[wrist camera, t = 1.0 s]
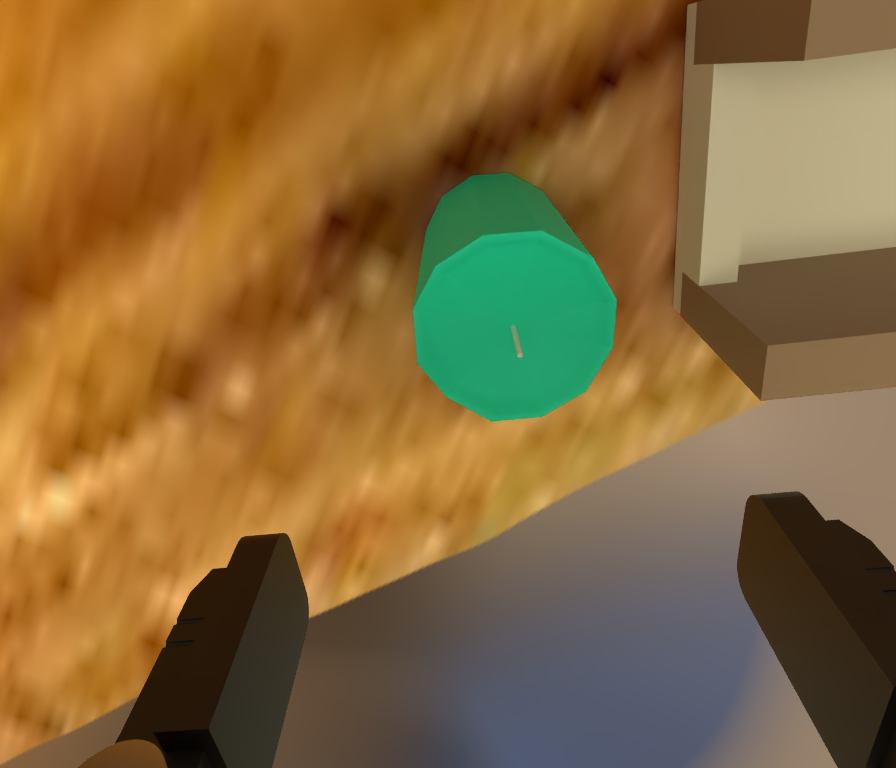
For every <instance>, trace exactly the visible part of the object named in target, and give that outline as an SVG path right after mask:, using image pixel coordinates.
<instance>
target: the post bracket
mask: <svg viewBox="0 0 896 768" xmlns="http://www.w3.org/2000/svg"><path fill="white" fill-rule="evenodd" d="M673 308H674V309H675V310H676V311H677V312H678V313H679V314H680V315H681V316H682V317H683V318H684V319H685V321H686V322H687V323H688V324H689V325H690V326H691V327H692V328H693V329H694V330H695V331H696V332H697V333H698V334H699V335H700V337H701V338H702V339H703V340H704V341H705V342H706V343H707V344H708V345H709V346H710V347H711V348H712V349H713V350H714V351H715V353H716V354H717V355H718V356H719V357H720V358H721V359H722V360H723V361H724V362H725V363H726V364H727V365H728V366H729V367H730V369H731V370H732V371H733V372H734V373H735V374H736V375H737V376H738V377H739V378H740V379H741V380H742V381H743V382H744V383H745V385H746V386H747V387H748V388H749V389H750V390H751V391H752V392H753V393H754V394H755V395H756V396H757V397H758V398H759V399H760V401H764V400H774V399H783V398H793V397H803V396H813V395H823V394H832V393H842V392H851V391H862V390H872V389H881V388H891V387H896V0H702V1H699V2H696V3H692V4H689V5H687V23H686V44H685V65H684V86H683V107H682V128H681V149H680V170H679V191H678V212H677V233H676V254H675V275H674V296H673Z"/></svg>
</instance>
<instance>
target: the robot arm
mask: <svg viewBox="0 0 896 768" xmlns="http://www.w3.org/2000/svg"><path fill="white" fill-rule="evenodd" d="M737 571H738V578H739V583H740V587H741V589H742V593H743V595H744V597H745V599H746V601H747V603H748V605H749V607H750V609H751V610H752V612H753V614H754V616H755V618H756V620H757V621H758V623H759V625H760V627H761V629H762V631H763V632H764V634H765V636H766V638H767V639H768V641H769V643H770V645H771V647H772V649H773V650H774V652H775V654H776V656H777V658H778V660H779V661H780V663H781V665H782V667H783V668H784V671H785V672H786V674H787V676H788V678H789V680H790V682H791V683H792V685H793V687H794V689H795V691H796V692H797V694H798V696H799V698H800V700H801V702H802V703H803V705H804V707H805V709H806V711H807V712H808V714H809V716H810V718H811V720H812V722H813V723H814V725H815V727H816V729H817V730H818V733H819V734H820V736H821V738H822V740H823V742H824V743H825V745H826V747H827V749H828V750H829V752H830V754H831V756H832V758H833V760H834V762H835V763H836V765H837V767H838V768H896V572H895V570H894V566H893V565H892V564H891V563H890V562H889V560H888V559H887V558H886V557H885V556H884V555H883V554H882V553H881V551H880V550H879V549H878V548H877V547H876V546H875V544H874V543H873V542H872V541H871V540H869V539H868V538H866V537H865V536H863V535H862V534H860V533H859V532H857V531H855V530H854V529H852V528H851V527H849V526H848V525H846V524H844V523H843V522H841V521H840V520H828V521H825V520H824V518H823V517H822V516H821V515H820V514H819V512H818V511H817V510H816V509H815V507H814V506H813V505H812V504H811V503H810V501H809V500H808V499H807V498H806V497H805V496H804V495H803V494H802V493H800V492H784V493H772V494H760V495H752V496H750V497H749V498H748V499H747V502H746V506H745V513H744V520H743V526H742V534H741V540H740V547H739V553H738V561H737ZM308 618H309V606H308V597H307V593H306V589H305V586H304V583H303V580H302V576H301V573H300V570H299V567H298V563H297V560H296V557H295V553H294V550H293V547H292V544H291V541H290V538H289V537H288V535H287V534H285V533H279V534H267V535H256V536H245V537H242V538H241V539H240V540H239V542H238V544H237V546H236V548H235V550H234V553H233V555H232V557H231V559H230V562H229V564H228V566H227V568H218V569H212V570H211V571H210V572H209V573H208V575H207V576H206V577H205V578H204V579H203V580H202V581H201V582H200V583H199V584H198V585H197V586H196V587H195V588H194V589H193V590H192V591H191V592H190V594H189V596H188V598H187V600H186V602H185V604H184V606H183V608H182V610H181V612H180V614H179V616H178V618H177V624H176V625H174V626H173V628H172V630H171V632H170V634H169V636H168V638H167V640H166V647H165V648H162V650H161V652H160V654H159V657H158V659H157V661H156V663H155V665H154V667H153V669H152V671H151V673H150V675H149V677H148V679H147V681H146V683H145V685H144V687H143V689H142V691H141V693H140V695H139V697H138V699H137V701H136V703H135V705H134V707H133V709H132V711H131V713H130V715H129V717H128V719H127V721H126V723H125V725H124V727H123V730H122V732H121V733H120V735H119V737H118V739H117V740H116V742H115V744H113V745H110V746H108V747H106V748H104V749H102V750H100V751H98V752H97V753H96V754H94V755H93V756H91V757H90V758H88V759H87V760H86V761H85V762H83V763H82V764H81V765H80V766H79V767H78V768H272V765H273V761H274V757H275V753H276V750H277V745H278V741H279V738H280V734H281V730H282V726H283V722H284V718H285V714H286V710H287V706H288V703H289V699H290V694H291V691H292V687H293V683H294V679H295V675H296V671H297V667H298V663H299V659H300V655H301V652H302V648H303V644H304V640H305V636H306V632H307V627H308Z"/></svg>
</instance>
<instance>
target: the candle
mask: <svg viewBox="0 0 896 768" xmlns="http://www.w3.org/2000/svg"><path fill="white" fill-rule="evenodd" d="M616 304H617V299H616V297H615V296H614V294H613V292H612V290H611V289H610V287H609V285H608V283H607V281H606V280H605V278H604V276H603V274H602V273H601V271H600V269H599V267H598V266H597V264H596V262H595V260H594V258H593V257H592V256H591V254H590V253H589V252H588V250H587V249H586V248H585V246H584V245H583V244H582V242H581V241H580V240H579V239H578V237H577V236H576V235H575V233H574V232H573V231H572V229H571V228H570V227H569V225H568V224H567V223H566V221H565V220H564V219H563V218H562V216H561V215H560V214H559V212H558V211H557V210H556V208H555V207H554V206H553V204H552V203H551V202H550V201H549V199H548V198H547V197H546V195H545V194H544V193H543V191H542V190H541V189H539V188H537V187H535V186H533V185H532V184H530V183H528V182H526V181H524V180H522V179H520V178H518V177H516V176H514V175H512V174H510V173H498V174H485V175H472V176H470V177H469V178H468V179H466V180H465V181H463V182H462V183H460V184H459V185H458V186H456V187H455V188H453V189H452V190H450V191H449V192H448V193H446V194H445V195H443V196H442V197H441V199H440V201H439V203H438V205H437V207H436V210H435V212H434V214H433V216H432V218H431V220H430V222H429V225H428V227H427V229H426V234H425V240H424V246H423V252H422V258H421V264H420V270H419V276H418V282H417V288H416V294H415V300H414V306H413V318H414V330H415V342H416V353H417V363H418V365H419V366H420V367H421V368H422V369H423V370H424V372H425V373H426V374H427V375H428V376H429V377H430V378H431V380H432V381H433V382H434V383H435V384H436V385H437V387H438V388H439V389H440V390H441V391H442V392H443V393H444V395H445V396H446V397H447V398H449V399H451V400H453V401H455V402H456V403H458V404H460V405H462V406H464V407H466V408H468V409H469V410H471V411H473V412H475V413H477V414H479V415H481V416H482V417H484V418H486V419H488V420H490V421H503V420H514V419H524V418H535V417H542V416H544V415H546V414H547V413H549V412H551V411H553V410H554V409H556V408H558V407H560V406H561V405H563V404H565V403H567V402H568V401H570V400H572V399H574V398H575V397H577V396H579V395H581V394H582V393H584V392H586V390H587V389H588V387H589V385H590V384H591V382H592V381H593V379H594V377H595V376H596V374H597V372H598V371H599V369H600V368H601V366H602V364H603V363H604V361H605V359H606V358H607V356H608V355H609V353H610V351H611V350H612V348H613V338H614V327H615V315H616Z"/></svg>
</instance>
